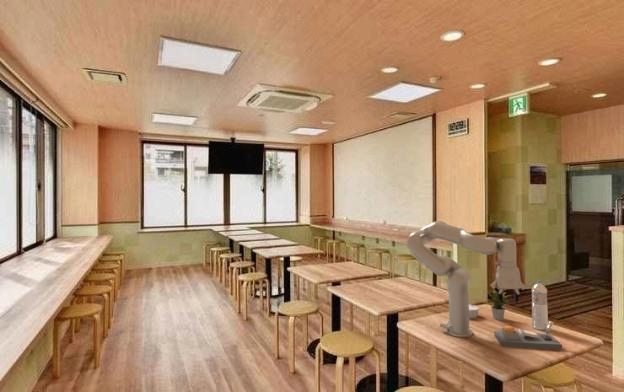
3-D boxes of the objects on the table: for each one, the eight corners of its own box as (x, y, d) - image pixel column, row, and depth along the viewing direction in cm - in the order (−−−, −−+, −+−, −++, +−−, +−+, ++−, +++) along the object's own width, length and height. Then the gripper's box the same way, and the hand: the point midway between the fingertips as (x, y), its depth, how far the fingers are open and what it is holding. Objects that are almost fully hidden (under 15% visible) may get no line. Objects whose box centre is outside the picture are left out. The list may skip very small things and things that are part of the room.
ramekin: (483, 317, 202) (483, 308, 202) (468, 320, 198) (468, 311, 198) (468, 311, 212) (468, 302, 212) (453, 314, 208) (453, 305, 208)
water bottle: (550, 331, 180) (549, 282, 179) (535, 330, 181) (534, 282, 181) (544, 326, 186) (543, 279, 186) (530, 325, 188) (529, 279, 188)
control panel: (501, 346, 164) (501, 334, 164) (494, 336, 175) (494, 325, 175) (562, 350, 158) (561, 338, 158) (550, 339, 170) (549, 327, 170)
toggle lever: (544, 336, 164) (550, 321, 164) (542, 334, 166) (548, 319, 166) (548, 337, 164) (554, 323, 163) (547, 336, 166) (552, 321, 165)
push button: (505, 335, 167) (505, 328, 167) (502, 331, 171) (502, 325, 171) (515, 335, 166) (515, 329, 166) (512, 331, 170) (512, 325, 170)
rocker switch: (520, 334, 166) (521, 331, 166) (517, 331, 170) (518, 328, 169) (537, 337, 164) (537, 335, 164) (533, 334, 168) (534, 331, 168)
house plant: (507, 325, 188) (506, 295, 188) (480, 319, 198) (479, 290, 198) (516, 318, 198) (515, 290, 198) (490, 313, 208) (489, 285, 208)
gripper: (490, 265, 166) (491, 303, 167) (530, 266, 163) (531, 305, 163) (485, 262, 174) (486, 298, 174) (524, 263, 170) (525, 300, 170)
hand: (508, 301), depth 168 cm, fingers open, 5 cm apart
